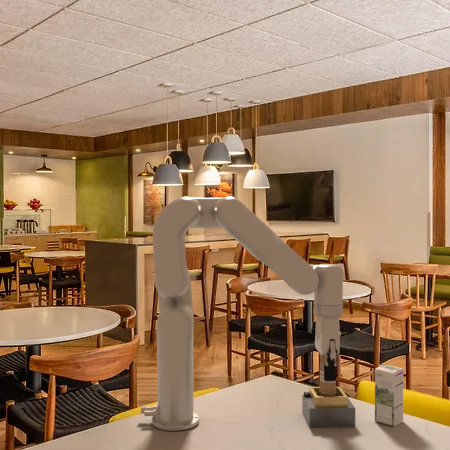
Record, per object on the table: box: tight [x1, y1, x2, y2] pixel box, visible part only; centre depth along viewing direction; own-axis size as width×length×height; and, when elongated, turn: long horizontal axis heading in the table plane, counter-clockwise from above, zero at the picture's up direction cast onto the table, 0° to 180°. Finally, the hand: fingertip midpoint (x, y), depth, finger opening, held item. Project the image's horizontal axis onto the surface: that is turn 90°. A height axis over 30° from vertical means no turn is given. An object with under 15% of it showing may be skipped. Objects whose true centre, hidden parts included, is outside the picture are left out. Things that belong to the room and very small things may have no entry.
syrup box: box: [374, 364, 404, 428], centre depth 146 cm, size 6×6×14 cm
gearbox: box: [301, 386, 356, 429], centre depth 148 cm, size 12×11×8 cm
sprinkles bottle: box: [319, 350, 337, 395], centre depth 148 cm, size 5×5×13 cm
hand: (327, 377), depth 148 cm, fingers closed on sprinkles bottle, 4 cm apart
